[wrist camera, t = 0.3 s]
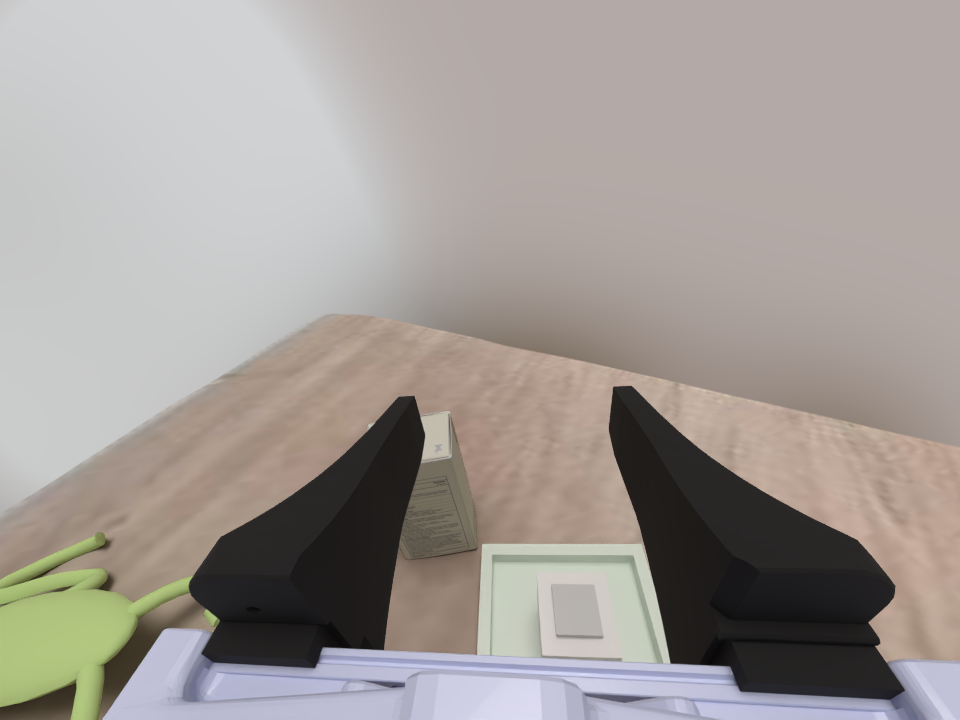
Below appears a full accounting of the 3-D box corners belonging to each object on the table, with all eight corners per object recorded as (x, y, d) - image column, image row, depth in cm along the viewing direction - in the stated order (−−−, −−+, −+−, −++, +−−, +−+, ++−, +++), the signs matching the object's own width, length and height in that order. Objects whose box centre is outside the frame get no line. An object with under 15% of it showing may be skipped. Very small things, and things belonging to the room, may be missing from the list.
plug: (609, 688, 22) (623, 656, 18) (542, 685, 22) (542, 652, 18) (596, 611, 25) (605, 569, 21) (537, 609, 25) (536, 569, 21)
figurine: (40, 1102, 14) (-111, 1181, 11) (-252, 834, 21) (-400, 833, 18) (314, 595, 28) (284, 562, 25) (86, 532, 35) (38, 500, 32)
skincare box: (474, 503, 33) (455, 408, 26) (478, 551, 29) (456, 456, 22) (405, 512, 33) (366, 420, 26) (401, 562, 29) (354, 471, 22)
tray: (707, 799, 18) (717, 796, 17) (475, 782, 20) (471, 778, 18) (637, 555, 28) (641, 544, 27) (484, 554, 29) (482, 543, 28)
